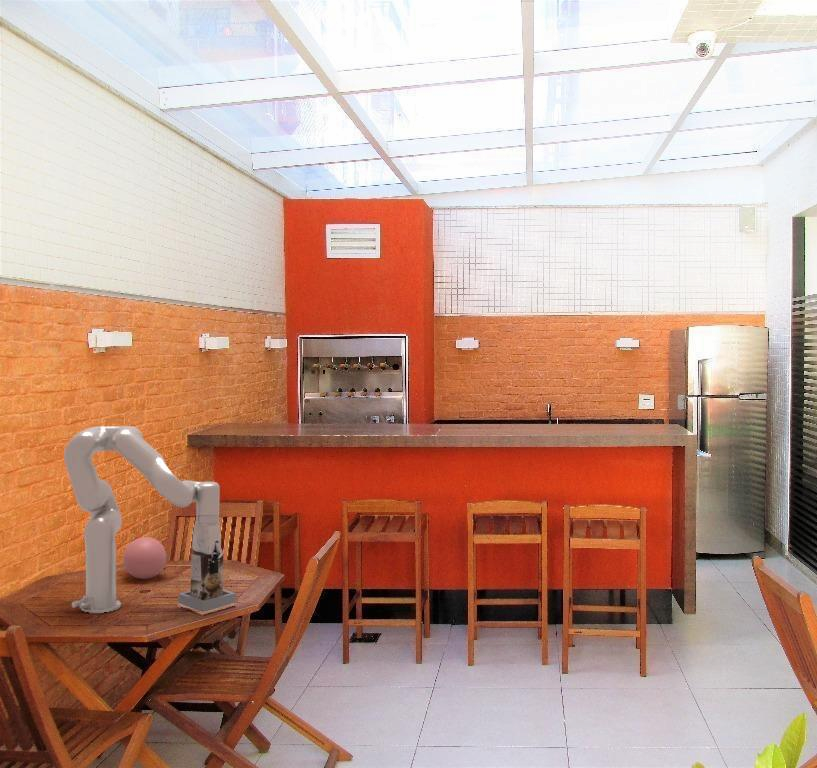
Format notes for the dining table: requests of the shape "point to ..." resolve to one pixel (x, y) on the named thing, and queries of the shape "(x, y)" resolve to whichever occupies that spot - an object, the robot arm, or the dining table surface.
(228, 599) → the holder
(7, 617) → the dining table surface
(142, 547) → the balloon
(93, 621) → the dining table surface
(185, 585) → the dining table surface
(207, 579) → the coffee box
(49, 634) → the dining table surface
